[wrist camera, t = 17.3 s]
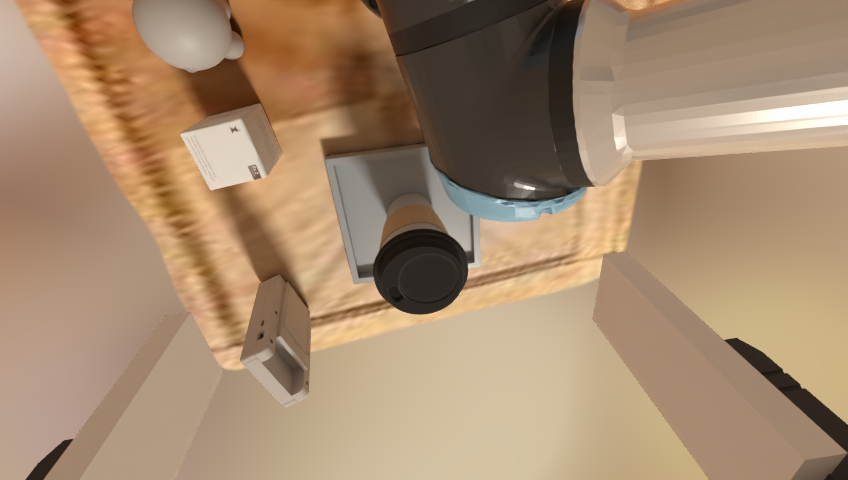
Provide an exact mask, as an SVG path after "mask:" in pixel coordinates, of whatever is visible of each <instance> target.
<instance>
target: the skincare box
mask: <svg viewBox="0 0 848 480" xmlns="http://www.w3.org/2000/svg"><path fill="white" fill-rule="evenodd" d="M180 135H181V137H182V139H183V141H184V143H185V144H186V146H187V148H188V150H189V152H190V154H191V155H192V157H193V159H194V161H195V163H196V165H197V166H198V168H199V170H200V172H201V174H202V176H203V177H204V179H205V181H206V183H207V185H208V187H209V188H210V190H215V189H219V188H223V187H227V186H231V185H235V184H239V183H244V182H248V181H252V180H256V179H260V178H265V177H267V176H268V175H269V173H270V172H271V170H272V169H273V167H274V166H275V164H276V163H277V161H278V160H279V158H280V157H281V155H282V152H281V149H280V147H279V144H278V142H277V140H276V137H275V135H274V133H273V130H272V128H271V126H270V123H269V121H268V119H267V116H266V114H265V112H264V110H263V107H262V105H261V104H255V105H251V106H247V107H243V108H240V109H236V110H232V111H228V112H224V113H220V114H216V115H212V116H209V117H207V118H205V119H203V120H202V121H200V122H198V123H197V124H195V125H193V126H191V127H189V128H188V129H186V130H184V131H183V132H181V133H180Z"/></svg>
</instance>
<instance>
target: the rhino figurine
mask: <svg viewBox="0 0 848 480" xmlns="http://www.w3.org/2000/svg"><path fill="white" fill-rule="evenodd" d="M132 14H133V20H134V24H135V27H136V29H137V32H138V34H139V35H140V37H141V39H142V40H143V42H144V43H145V44H146V46H147V47H148V48H149V49H150V50H151V51H152V52H153V53H154V54H155V55H156V56H157V57H159V58H160V59H162V60H163V61H165V62H166V63H168V64H170V65H172V66H175V67H177V68H180V69H184V70H186V71H188V72H191V73H194V72H196V71H200V70H206V69H209V68H212V67H214V66H216V65H217V64H219V63H220V62H221V61H222V60H223V59H224V58H226V59H237V58H239V57H241V56H242V54H243V52H244V41H243V39H242V38H241V36H240V35H239V34H237V33H236V32H234V31H232V30H231V25H230V21H229V20H230V17H231V9H230V6H229V4H228V3H227V1H226V0H133V5H132Z"/></svg>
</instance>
